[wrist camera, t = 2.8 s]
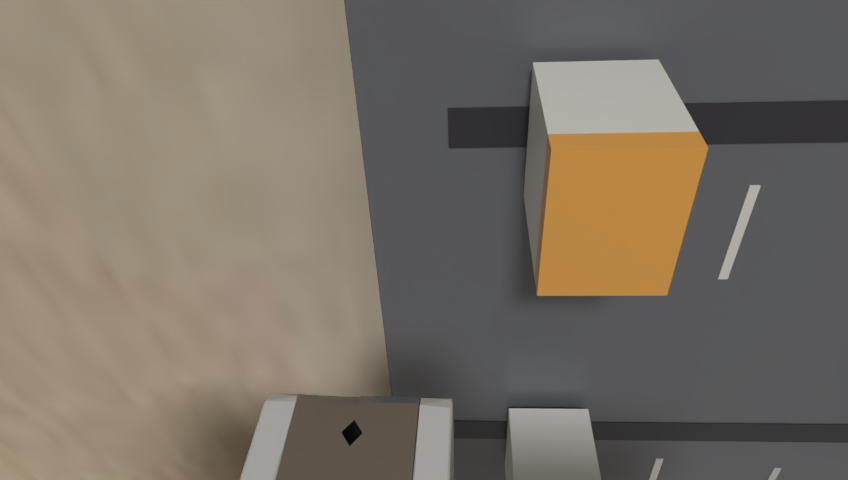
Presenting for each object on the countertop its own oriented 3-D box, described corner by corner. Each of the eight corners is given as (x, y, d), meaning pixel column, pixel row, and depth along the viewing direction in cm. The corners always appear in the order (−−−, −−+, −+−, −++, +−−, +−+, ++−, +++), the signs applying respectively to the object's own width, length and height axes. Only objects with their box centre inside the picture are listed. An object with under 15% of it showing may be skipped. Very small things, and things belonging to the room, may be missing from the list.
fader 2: (523, 195, 18) (537, 295, 15) (532, 62, 16) (551, 149, 13) (631, 194, 18) (667, 295, 15) (658, 59, 15) (708, 147, 12)
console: (407, 463, 32) (400, 568, 28) (342, -138, 15) (303, -84, 11) (869, 469, 30) (928, 580, 27) (1350, -179, 14) (1691, -134, 10)
